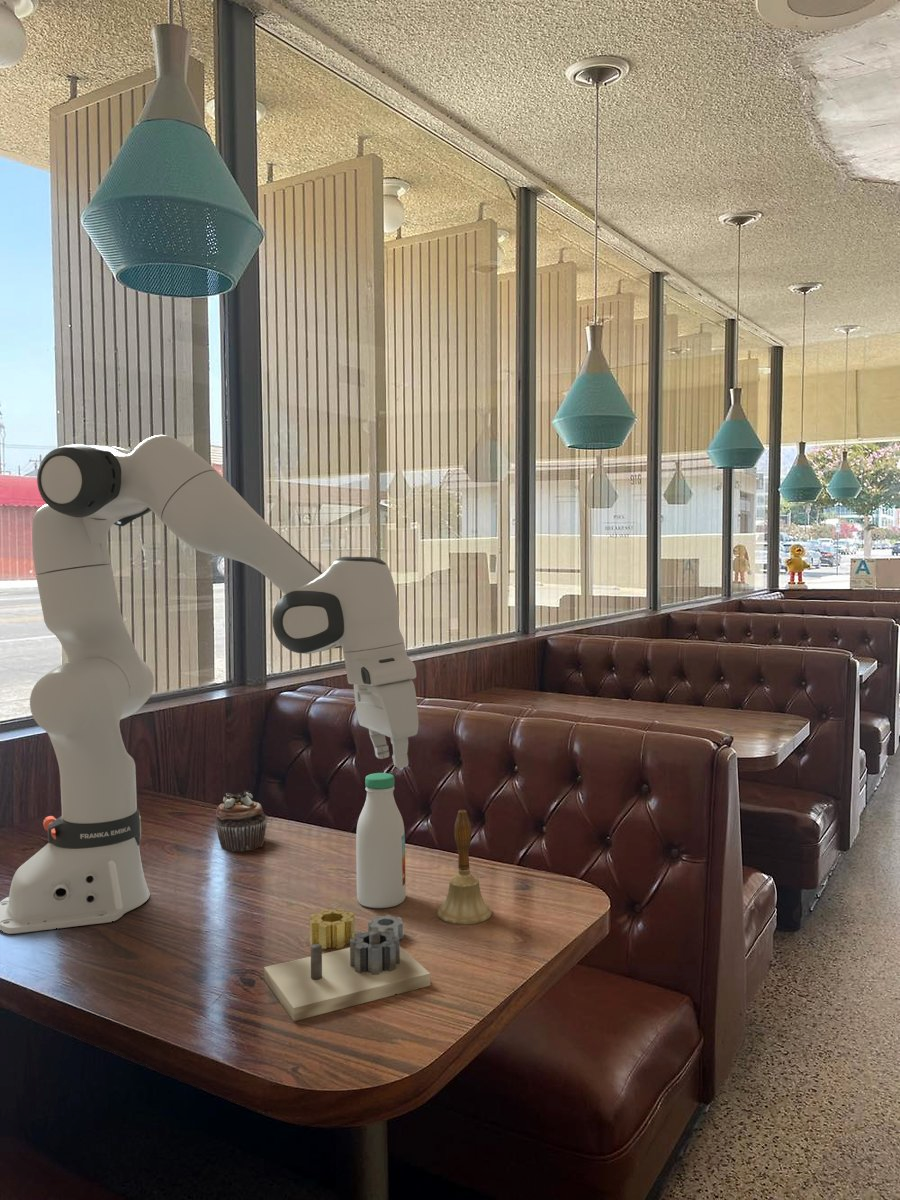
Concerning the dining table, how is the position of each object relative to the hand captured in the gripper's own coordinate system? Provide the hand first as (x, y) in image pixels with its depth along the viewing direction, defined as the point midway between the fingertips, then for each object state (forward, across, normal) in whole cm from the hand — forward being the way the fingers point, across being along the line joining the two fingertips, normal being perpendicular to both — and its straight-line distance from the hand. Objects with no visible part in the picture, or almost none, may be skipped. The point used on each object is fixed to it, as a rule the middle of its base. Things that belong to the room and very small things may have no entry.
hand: (391, 762), depth 129 cm
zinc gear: (+25, -1, -5) cm, 25 cm away
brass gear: (+24, -3, -12) cm, 26 cm away
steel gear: (+23, +10, -9) cm, 27 cm away
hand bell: (+26, -5, +9) cm, 28 cm away
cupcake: (+19, -50, -18) cm, 57 cm away
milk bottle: (+24, -14, -2) cm, 28 cm away
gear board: (+24, +10, -13) cm, 30 cm away
